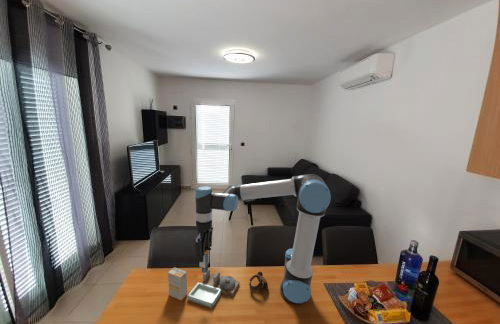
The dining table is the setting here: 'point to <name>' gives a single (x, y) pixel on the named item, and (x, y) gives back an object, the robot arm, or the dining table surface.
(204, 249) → the lock pin
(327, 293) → the dining table surface
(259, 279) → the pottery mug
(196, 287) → the tray
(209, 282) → the pulley block
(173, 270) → the supplement box
